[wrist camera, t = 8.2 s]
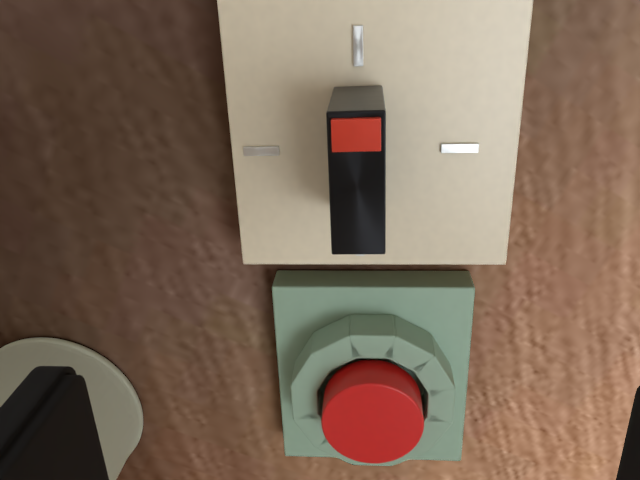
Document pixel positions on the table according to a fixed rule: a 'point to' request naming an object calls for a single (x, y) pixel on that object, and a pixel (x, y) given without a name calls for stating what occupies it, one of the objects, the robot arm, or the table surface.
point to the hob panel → (401, 122)
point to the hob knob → (357, 169)
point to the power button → (372, 412)
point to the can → (102, 384)
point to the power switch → (373, 348)
